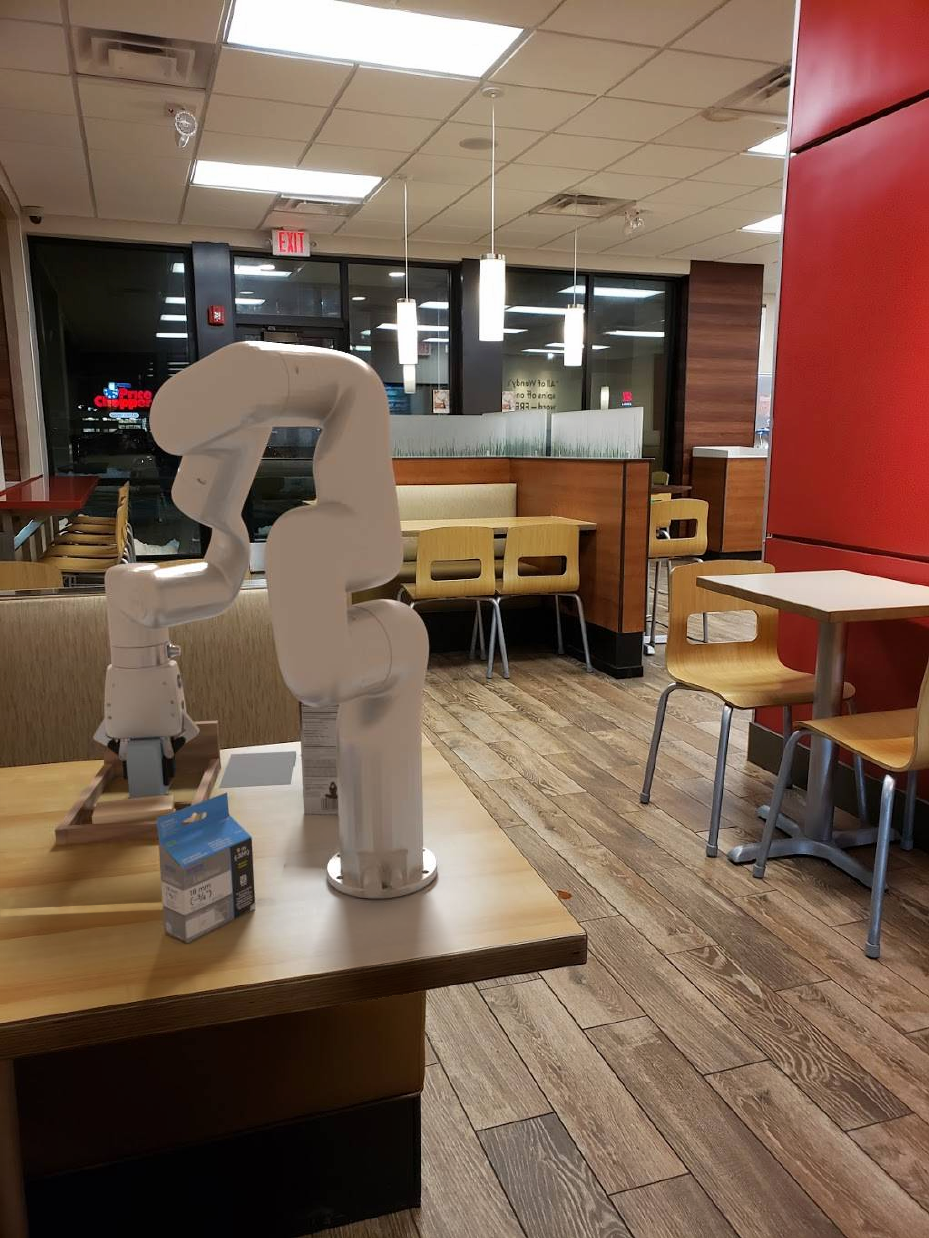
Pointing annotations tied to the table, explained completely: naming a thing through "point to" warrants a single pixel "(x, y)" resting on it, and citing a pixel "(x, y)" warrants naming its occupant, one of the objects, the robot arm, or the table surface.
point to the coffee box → (319, 758)
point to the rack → (189, 758)
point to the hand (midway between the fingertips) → (150, 782)
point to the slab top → (133, 809)
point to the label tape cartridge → (204, 869)
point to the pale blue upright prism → (145, 768)
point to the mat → (259, 769)
